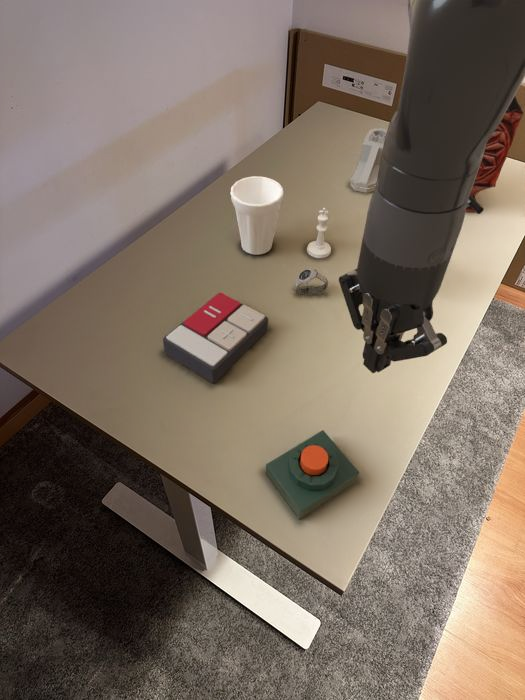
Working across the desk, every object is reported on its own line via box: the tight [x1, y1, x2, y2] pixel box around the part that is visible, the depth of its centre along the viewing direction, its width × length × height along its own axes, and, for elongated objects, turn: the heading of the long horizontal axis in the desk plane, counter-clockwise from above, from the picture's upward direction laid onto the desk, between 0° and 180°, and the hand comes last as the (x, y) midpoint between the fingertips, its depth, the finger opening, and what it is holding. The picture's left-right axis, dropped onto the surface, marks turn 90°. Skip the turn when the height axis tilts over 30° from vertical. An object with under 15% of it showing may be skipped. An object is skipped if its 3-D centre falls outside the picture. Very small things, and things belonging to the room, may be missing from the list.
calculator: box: [162, 292, 269, 384], centre depth 85 cm, size 11×4×15 cm
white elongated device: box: [349, 127, 388, 194], centre depth 120 cm, size 6×18×8 cm, turn 159°
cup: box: [230, 175, 284, 256], centre depth 99 cm, size 10×10×13 cm
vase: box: [465, 95, 524, 213], centre depth 105 cm, size 14×14×30 cm
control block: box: [265, 429, 360, 520], centre depth 69 cm, size 8×10×4 cm
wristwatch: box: [294, 268, 329, 296], centre depth 93 cm, size 4×6×5 cm, turn 91°
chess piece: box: [306, 207, 332, 259], centre depth 99 cm, size 5×5×10 cm
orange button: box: [300, 445, 328, 476], centre depth 67 cm, size 4×4×2 cm
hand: (374, 365), depth 55 cm, fingers closed
